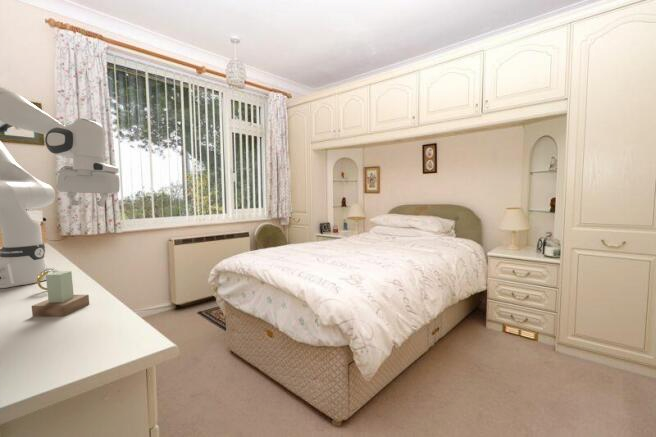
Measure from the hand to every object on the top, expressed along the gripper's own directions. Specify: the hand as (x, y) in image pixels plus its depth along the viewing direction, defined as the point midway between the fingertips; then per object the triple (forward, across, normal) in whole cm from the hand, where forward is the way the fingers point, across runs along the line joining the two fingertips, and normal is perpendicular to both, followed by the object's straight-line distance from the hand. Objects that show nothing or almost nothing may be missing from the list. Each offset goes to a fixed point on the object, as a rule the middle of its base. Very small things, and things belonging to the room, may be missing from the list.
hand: (87, 206), depth 110 cm
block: (+28, +8, -18) cm, 34 cm away
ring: (+30, -12, 0) cm, 33 cm away
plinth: (+31, +8, -18) cm, 36 cm away
